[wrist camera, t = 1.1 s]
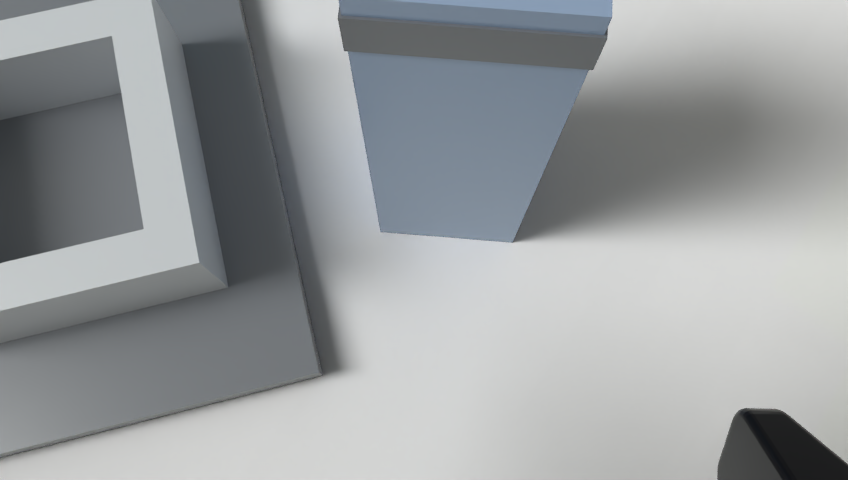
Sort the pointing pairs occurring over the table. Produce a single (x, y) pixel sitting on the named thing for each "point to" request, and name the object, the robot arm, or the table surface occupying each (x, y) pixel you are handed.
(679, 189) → the table surface
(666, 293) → the table surface
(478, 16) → the charger block
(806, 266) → the table surface
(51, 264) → the charging dock
